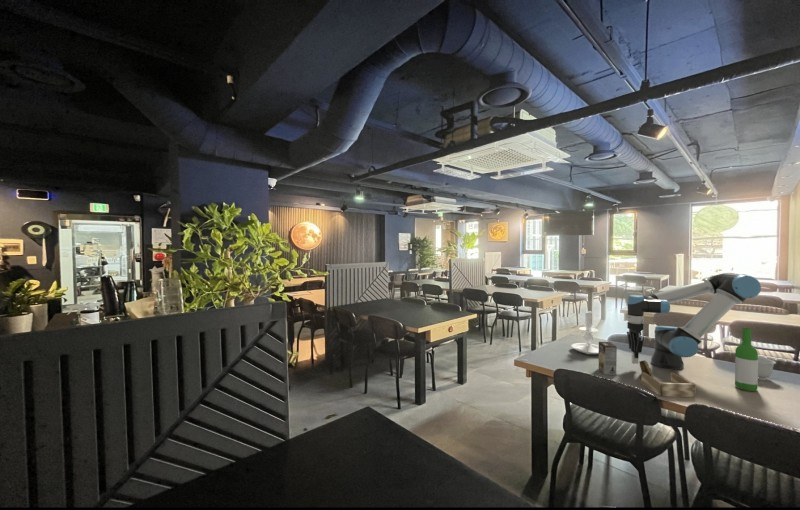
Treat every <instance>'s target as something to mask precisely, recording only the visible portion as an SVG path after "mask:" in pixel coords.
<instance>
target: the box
mask: <svg viewBox="0 0 800 510" xmlns="http://www.w3.org/2000/svg"><path fill="white" fill-rule="evenodd" d="M640 380H641V382H640V383H641V384H642V385H644V386H645V387H646V388H647V389H649V390H651V391H652V392H653V393H655V394H656V395H658V396H659V397H679V398H680V397H681V398H686V397H688V398H696V384H695V383H694V382H691V381H690V380H688V379H686V378H684V377H682V376H680V375H678V374H676V373H675V372H670V382H662V381H659V380H657V379H656V378H654V376H653V377H651V376H650V375H648V374H646V373H645V372H641V379H640Z"/></svg>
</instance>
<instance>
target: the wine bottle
mask: <svg viewBox="0 0 800 510" xmlns="http://www.w3.org/2000/svg"><path fill="white" fill-rule="evenodd" d="M758 356H759V353H758V350H757V349H756V348H755V347H754V346H753V345H752V329H751V328H749V327H743V328H742V341H741V344H739V345H737V346H736V348H735V355H734V358H735V359H734V360H735V361H734V385H735V387H736V388H737V389H740V390H744V391H749V392H756V391H758V380H759V379H758Z"/></svg>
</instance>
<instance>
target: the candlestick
mask: <svg viewBox="0 0 800 510" xmlns="http://www.w3.org/2000/svg"><path fill="white" fill-rule="evenodd" d="M584 320H585V321H584V322H585V326H582V327H581V326H580V327H578V329H579V330H580V331H583V332H584V333H585V334H584V336H583V340H584V341H585V342H577V343H576V342H575V343H572V344H571V345H570V346H571V347H572V348H573V349H574V350H575V351H577V352H579V353H582V354H586V355H599V344H594V343H592V342H593V341H594V338H595V337H594V336H593V334H592V333H593V332H594V333H595V332H599V329H597V328H595V327H592V325H593V323H592V320H593V311H591V310H588V311H585V319H584Z"/></svg>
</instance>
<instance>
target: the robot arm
mask: <svg viewBox="0 0 800 510" xmlns="http://www.w3.org/2000/svg"><path fill="white" fill-rule="evenodd" d="M761 291H762V285H761V282H760V281H759V279H757V278H756V277H754V276H751V275H748V274H743V273H742V274H740V273H735V272H723V273H718V274H715V275H711V276H709V277H704V278H702V279H701V280H700V281H697V282H692V283H689V284H686V285H682V286H677V287H674V288H670V289H667V290H663V291H659V292H654V293H652V294H648V295H646V294H641V295H639V294H638V295H637V294H630V295H628V297H627V302H626V303H627V323H626V325H627V327H626V328H627V329H628V330H629V331H626V336H627V343H628V348H629V350H630V351H631V363H632V364H639V356H640V355H639V353H642V349H643V345H644V341H645V337H644V336H642V331H644V319H645V318H644V316H645V315H644V313H645V314H648V313H649V314H653V313H654V314H668V313H670V311H671V304H674V303H677V302H680V301H683V300H688V299H692V298H695V297H700V296H704V295H714V296H713V297H712V298H711V299H710V300H708V302H707V303H705V305H704V306H703V307H702V308H701V309H700V310H699V311H698V312H697V313H696V314H694V316H693V317H692V318H690V320H689V321H688V322H686V323H685V325H684V326H671V325H670V326H668V325H656V326H655V327H654V351H653V354H652V356H651V357H650V363H651V364H652V365H654V366H656V367H659V368H664V369H667V370H669V369H670V370H682V369H684V367H685V366H684V365H685V364H684V361H683V358H691V357H693V356H695V355H696V354H697V353H698V352H699V349H700V348H699V345H700V344H701V343H702V342H703V341H702V337H703V336H704V335H705V334H706V333H707V332H708V331H709V330H710V329H712V327H714V325H716V324H717V323H718V322H719V321H720V320H721V319H722V318H723V317H724V316H725V315H726V314H727V313H728V312H729V311H730V310H731V309H733V307H734V306H735V305H741V304H743V303H744V302H745V301H746V300H748V299H752V298H753V299H754V298H755V297H757V296H759V295H760V293H761Z"/></svg>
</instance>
